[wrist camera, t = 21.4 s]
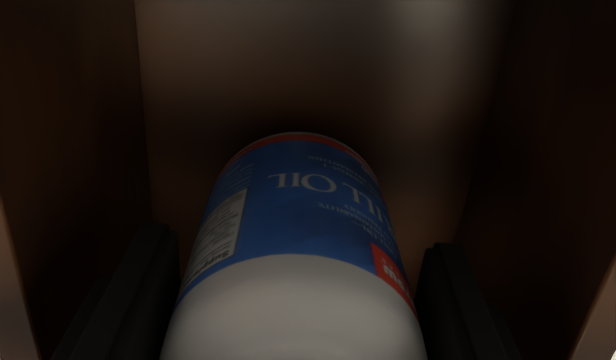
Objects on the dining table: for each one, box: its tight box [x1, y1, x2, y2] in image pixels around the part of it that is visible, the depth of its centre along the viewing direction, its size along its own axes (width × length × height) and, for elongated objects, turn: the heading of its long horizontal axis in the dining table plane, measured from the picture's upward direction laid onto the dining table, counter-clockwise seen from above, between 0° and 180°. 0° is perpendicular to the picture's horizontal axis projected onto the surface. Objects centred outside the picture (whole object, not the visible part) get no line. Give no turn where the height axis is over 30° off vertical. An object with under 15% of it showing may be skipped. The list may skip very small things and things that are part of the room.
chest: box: [0, 0, 616, 360], centre depth 14 cm, size 15×13×9 cm
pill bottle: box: [159, 132, 428, 360], centre depth 12 cm, size 6×5×10 cm
